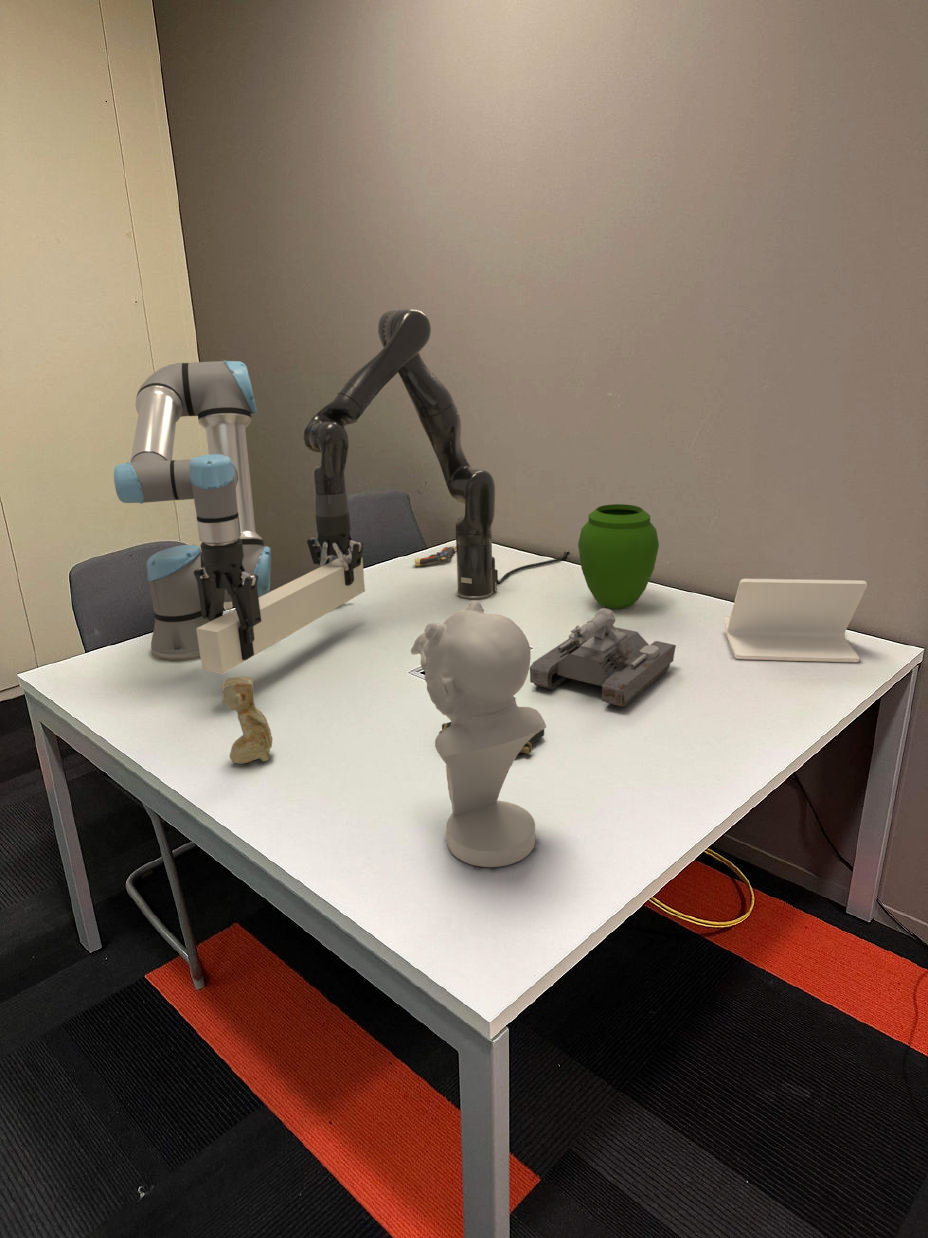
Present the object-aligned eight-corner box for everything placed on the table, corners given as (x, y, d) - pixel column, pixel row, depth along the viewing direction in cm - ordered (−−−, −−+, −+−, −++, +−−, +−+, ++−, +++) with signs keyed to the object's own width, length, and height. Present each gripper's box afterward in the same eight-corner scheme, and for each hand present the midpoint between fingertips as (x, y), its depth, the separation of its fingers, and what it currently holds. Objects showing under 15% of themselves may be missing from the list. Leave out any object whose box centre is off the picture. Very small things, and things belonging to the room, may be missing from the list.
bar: (222, 673, 160) (217, 631, 157) (202, 669, 162) (196, 628, 159) (365, 591, 203) (362, 557, 200) (347, 588, 205) (344, 555, 202)
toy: (588, 647, 189) (590, 583, 183) (674, 666, 178) (679, 599, 172) (528, 689, 170) (528, 618, 164) (621, 714, 158) (624, 639, 153)
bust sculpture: (481, 772, 140) (476, 569, 128) (565, 848, 120) (569, 617, 108) (392, 800, 134) (378, 588, 121) (465, 886, 114) (457, 642, 101)
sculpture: (233, 752, 149) (222, 673, 144) (275, 748, 150) (266, 670, 145) (229, 769, 144) (217, 688, 138) (272, 765, 144) (262, 685, 139)
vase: (599, 587, 227) (601, 497, 218) (668, 600, 216) (673, 505, 208) (562, 608, 212) (564, 513, 204) (634, 623, 202) (639, 523, 193)
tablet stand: (860, 662, 177) (871, 584, 171) (735, 659, 181) (742, 582, 175) (836, 630, 194) (846, 558, 188) (723, 628, 197) (729, 557, 191)
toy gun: (412, 559, 248) (445, 556, 246) (427, 545, 266) (458, 542, 264) (413, 568, 249) (447, 565, 247) (428, 554, 267) (459, 551, 264)
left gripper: (273, 539, 158) (285, 654, 166) (196, 530, 165) (212, 641, 173) (247, 550, 151) (261, 670, 160) (169, 540, 159) (187, 655, 167)
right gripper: (368, 509, 190) (373, 581, 197) (314, 505, 196) (321, 575, 202) (350, 517, 184) (356, 592, 190) (295, 512, 190) (303, 585, 196)
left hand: (236, 654), depth 167 cm, fingers closed on bar, 5 cm apart
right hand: (338, 583), depth 196 cm, fingers closed on bar, 5 cm apart
